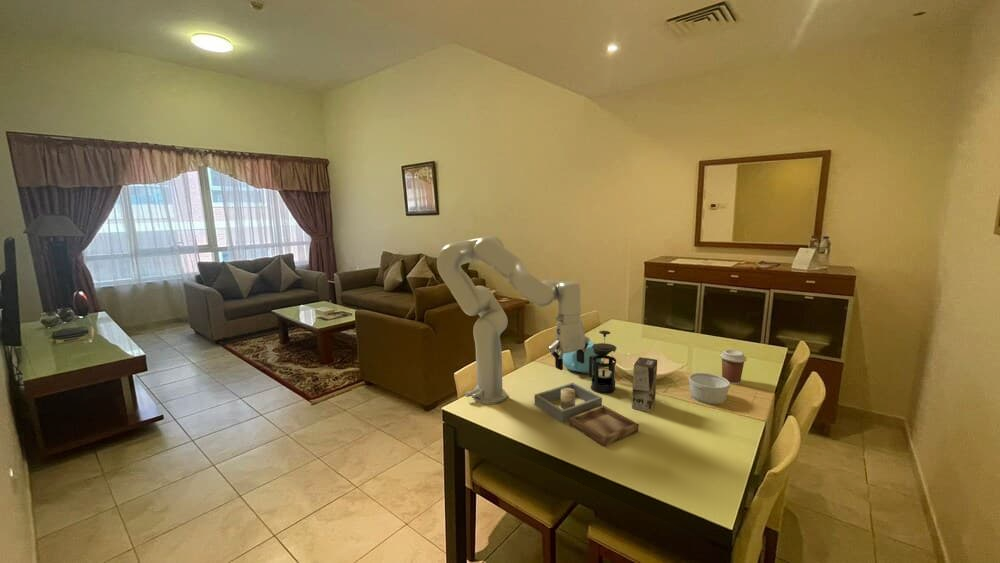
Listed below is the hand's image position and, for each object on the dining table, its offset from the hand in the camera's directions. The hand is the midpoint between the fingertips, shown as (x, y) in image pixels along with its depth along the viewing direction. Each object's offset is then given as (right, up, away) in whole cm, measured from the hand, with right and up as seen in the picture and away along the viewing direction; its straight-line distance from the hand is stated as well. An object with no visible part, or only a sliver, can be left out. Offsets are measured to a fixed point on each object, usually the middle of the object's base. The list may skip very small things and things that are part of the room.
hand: (570, 365), depth 140 cm
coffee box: (+27, -15, +3) cm, 31 cm away
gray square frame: (0, -15, +3) cm, 15 cm away
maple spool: (0, -15, +3) cm, 16 cm away
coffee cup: (+68, -11, +21) cm, 72 cm away
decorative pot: (+11, -9, +37) cm, 39 cm away
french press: (+15, -13, +17) cm, 26 cm away
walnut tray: (+9, -18, -11) cm, 23 cm away
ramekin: (+52, -14, +8) cm, 54 cm away
